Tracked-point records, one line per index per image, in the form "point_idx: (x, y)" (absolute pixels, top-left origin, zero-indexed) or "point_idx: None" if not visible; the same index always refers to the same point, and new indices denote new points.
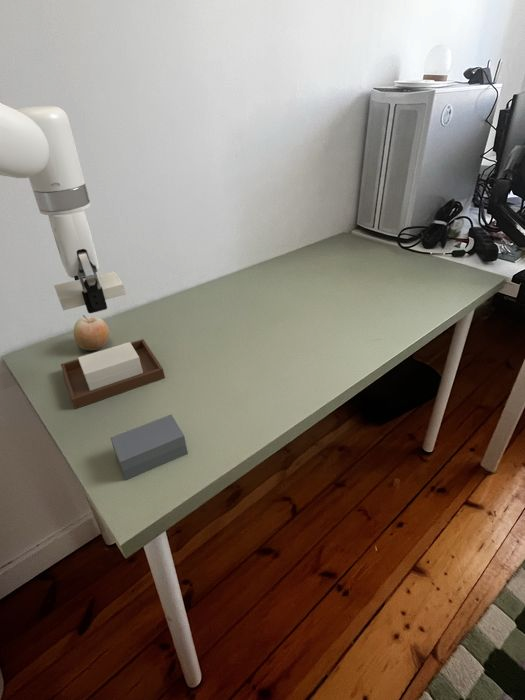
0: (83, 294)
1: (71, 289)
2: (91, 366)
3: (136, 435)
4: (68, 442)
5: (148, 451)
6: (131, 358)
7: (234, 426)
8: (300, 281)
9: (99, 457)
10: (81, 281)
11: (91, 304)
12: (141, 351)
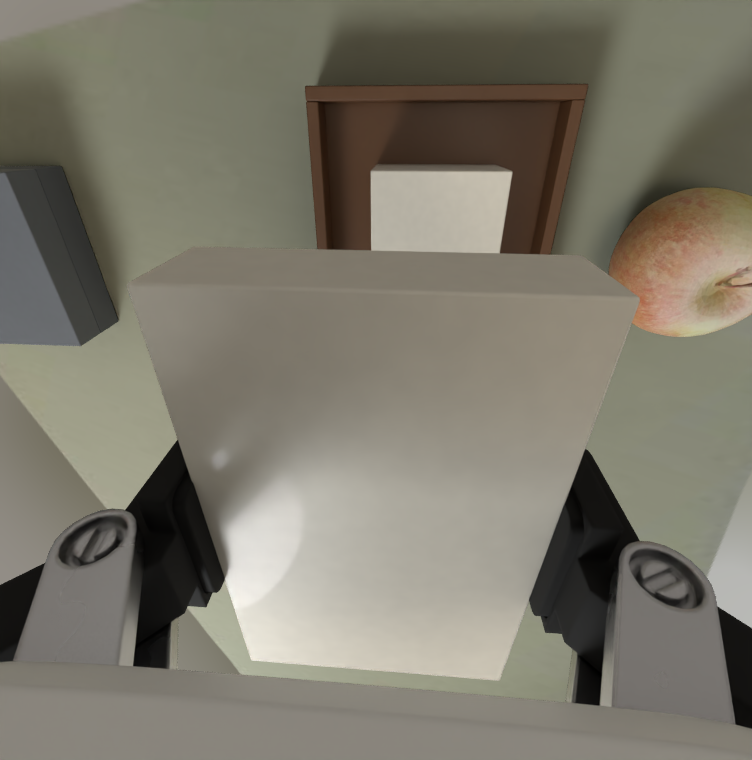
0: (150, 487)
1: (357, 431)
2: (408, 209)
3: (7, 244)
4: (150, 28)
5: None
6: None
7: (107, 418)
8: (516, 679)
9: (63, 117)
10: (28, 638)
11: (170, 449)
12: None
